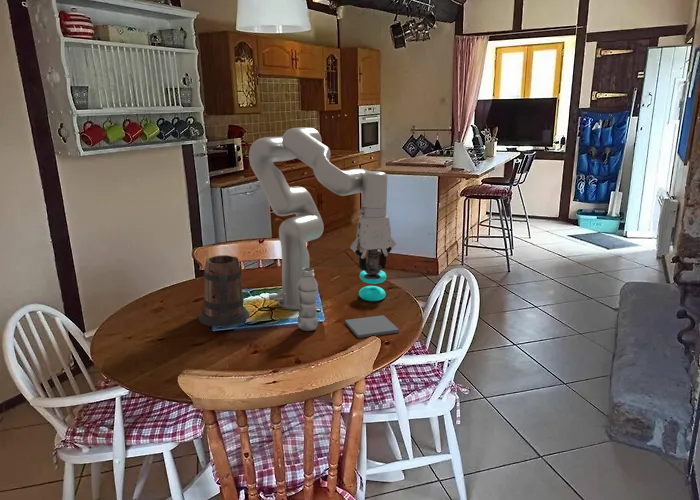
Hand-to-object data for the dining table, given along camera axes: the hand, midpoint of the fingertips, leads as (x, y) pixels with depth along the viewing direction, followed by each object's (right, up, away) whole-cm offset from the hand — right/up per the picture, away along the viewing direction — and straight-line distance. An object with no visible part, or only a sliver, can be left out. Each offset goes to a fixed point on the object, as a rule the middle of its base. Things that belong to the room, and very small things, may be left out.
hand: (372, 267), depth 164 cm
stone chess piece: (0, -3, +1) cm, 3 cm away
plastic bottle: (-21, -20, +2) cm, 29 cm away
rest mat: (0, -20, +4) cm, 20 cm away
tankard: (-48, -18, +7) cm, 52 cm away
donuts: (+1, -12, +31) cm, 33 cm away
